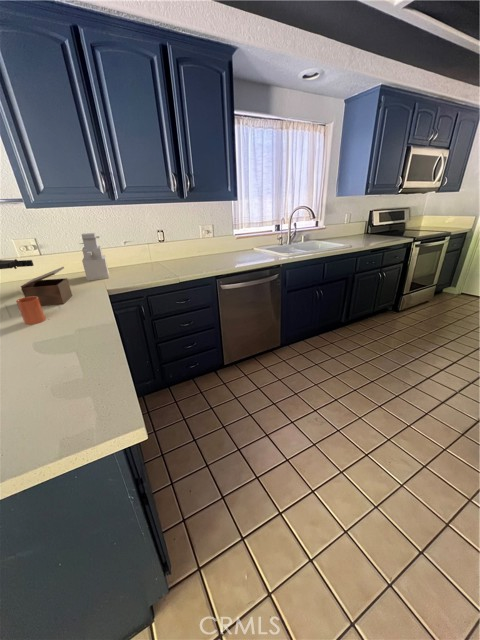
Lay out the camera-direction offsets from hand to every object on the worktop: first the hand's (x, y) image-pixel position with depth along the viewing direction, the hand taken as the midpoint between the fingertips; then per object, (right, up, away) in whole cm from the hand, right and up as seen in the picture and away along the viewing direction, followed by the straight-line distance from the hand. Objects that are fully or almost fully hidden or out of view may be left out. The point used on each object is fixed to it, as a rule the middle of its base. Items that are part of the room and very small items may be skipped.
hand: (32, 263), depth 128 cm
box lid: (+3, -6, +4) cm, 8 cm away
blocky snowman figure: (+5, +1, +51) cm, 52 cm away
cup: (+12, -28, -13) cm, 33 cm away
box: (+3, -18, +9) cm, 20 cm away
